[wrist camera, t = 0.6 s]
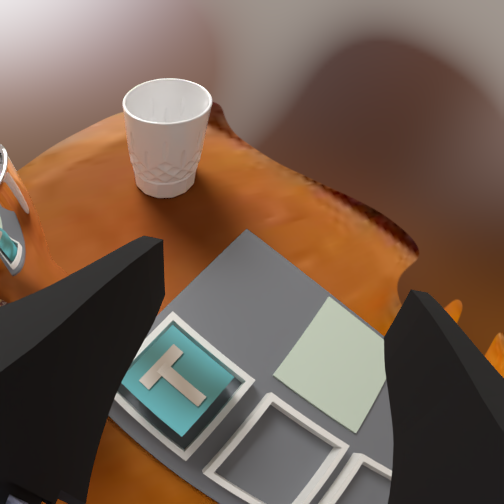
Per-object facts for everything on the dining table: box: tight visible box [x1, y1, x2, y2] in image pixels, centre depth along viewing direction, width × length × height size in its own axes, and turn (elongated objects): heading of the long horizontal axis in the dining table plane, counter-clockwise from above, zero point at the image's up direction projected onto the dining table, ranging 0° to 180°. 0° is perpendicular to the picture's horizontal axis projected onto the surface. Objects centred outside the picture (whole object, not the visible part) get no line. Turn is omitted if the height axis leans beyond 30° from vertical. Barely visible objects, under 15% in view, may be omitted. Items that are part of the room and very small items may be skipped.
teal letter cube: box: [121, 325, 234, 436], centre depth 19 cm, size 5×5×5 cm
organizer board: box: [108, 229, 393, 504], centre depth 22 cm, size 20×29×2 cm
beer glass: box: [0, 144, 68, 303], centre depth 16 cm, size 7×7×15 cm
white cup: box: [123, 78, 212, 198], centre depth 28 cm, size 8×8×10 cm
